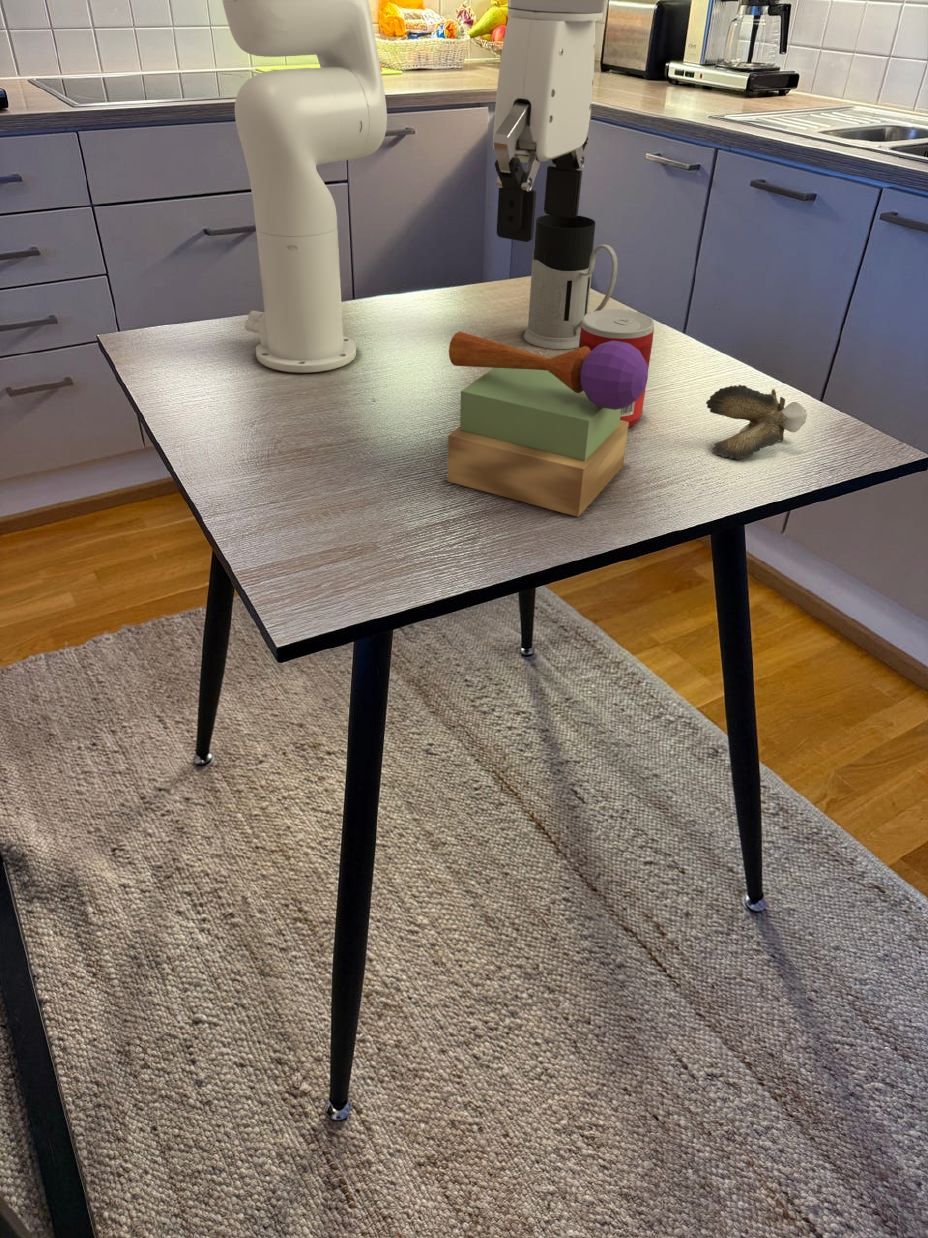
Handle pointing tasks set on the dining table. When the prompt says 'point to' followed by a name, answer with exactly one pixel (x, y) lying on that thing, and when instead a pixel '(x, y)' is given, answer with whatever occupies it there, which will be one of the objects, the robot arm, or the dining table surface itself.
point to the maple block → (534, 470)
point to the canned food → (622, 329)
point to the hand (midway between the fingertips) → (538, 226)
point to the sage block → (535, 413)
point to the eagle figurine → (754, 419)
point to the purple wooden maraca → (566, 367)
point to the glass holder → (562, 280)
